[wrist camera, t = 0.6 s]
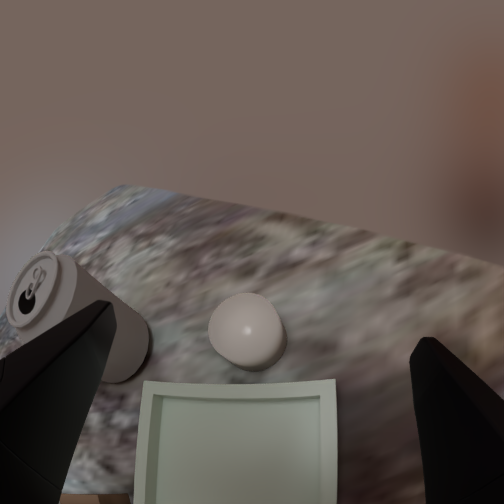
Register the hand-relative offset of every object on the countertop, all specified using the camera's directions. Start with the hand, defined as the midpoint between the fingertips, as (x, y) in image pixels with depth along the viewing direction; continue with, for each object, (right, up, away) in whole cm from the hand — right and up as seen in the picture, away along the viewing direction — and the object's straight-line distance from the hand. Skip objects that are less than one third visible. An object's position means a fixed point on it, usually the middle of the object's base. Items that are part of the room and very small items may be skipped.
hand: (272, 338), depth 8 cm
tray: (-2, -14, +9) cm, 17 cm away
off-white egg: (0, -5, +15) cm, 16 cm away
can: (-13, -7, +18) cm, 23 cm away
